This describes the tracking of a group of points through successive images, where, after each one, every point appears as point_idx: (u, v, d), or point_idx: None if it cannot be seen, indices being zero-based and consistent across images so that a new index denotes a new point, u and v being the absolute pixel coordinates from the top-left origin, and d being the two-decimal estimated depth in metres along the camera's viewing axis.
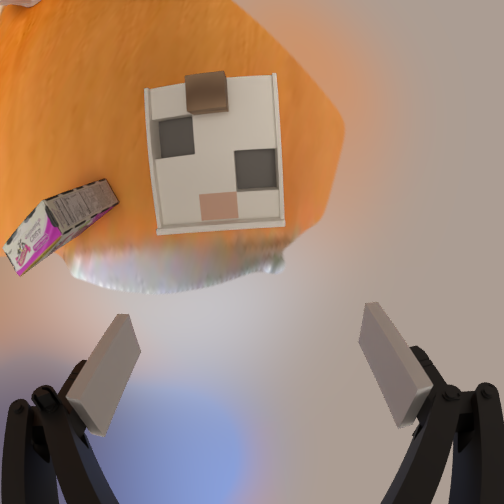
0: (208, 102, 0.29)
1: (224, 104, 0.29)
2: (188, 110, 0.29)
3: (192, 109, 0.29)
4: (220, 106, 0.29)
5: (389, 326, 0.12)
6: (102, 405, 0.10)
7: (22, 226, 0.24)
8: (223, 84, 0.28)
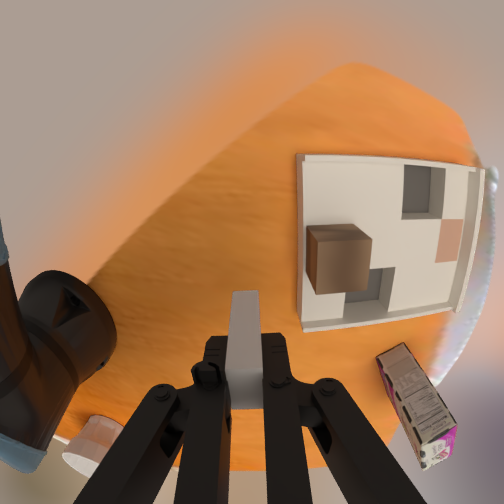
0: (362, 263, 0.22)
1: (368, 241, 0.21)
2: (365, 287, 0.23)
3: (366, 283, 0.22)
4: (370, 246, 0.21)
5: (253, 311, 0.14)
6: None
7: (425, 458, 0.21)
8: (339, 242, 0.21)
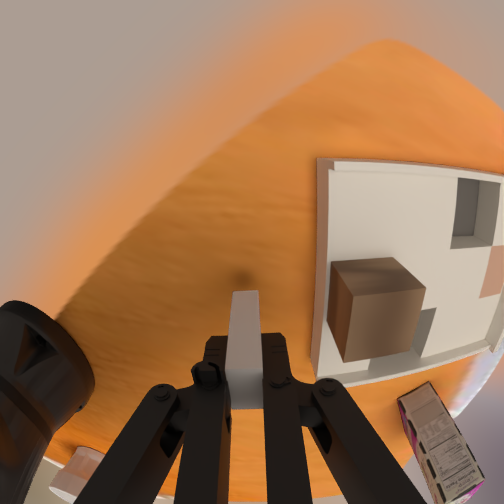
0: (409, 319, 0.14)
1: (421, 290, 0.13)
2: (407, 347, 0.15)
3: (410, 342, 0.15)
4: (422, 297, 0.14)
5: (254, 311, 0.14)
6: None
7: None
8: (383, 295, 0.13)
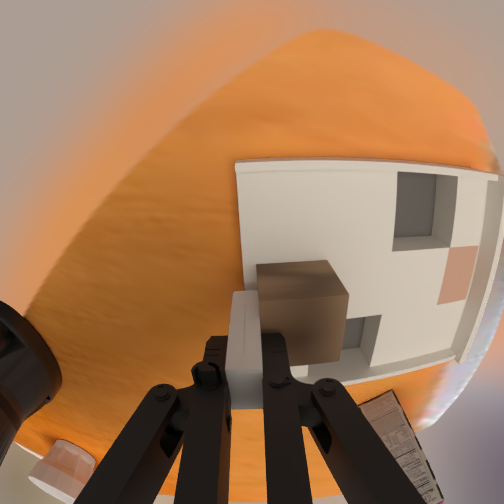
0: (333, 328, 0.14)
1: (343, 297, 0.14)
2: (338, 357, 0.15)
3: (338, 352, 0.15)
4: (345, 305, 0.14)
5: (253, 311, 0.14)
6: None
7: None
8: (294, 301, 0.14)
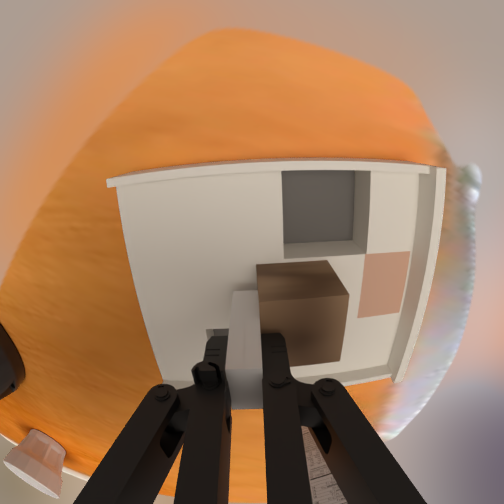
0: (333, 328, 0.14)
1: (343, 297, 0.14)
2: (338, 357, 0.15)
3: (339, 352, 0.15)
4: (346, 305, 0.14)
5: (253, 311, 0.14)
6: None
7: None
8: (295, 301, 0.14)
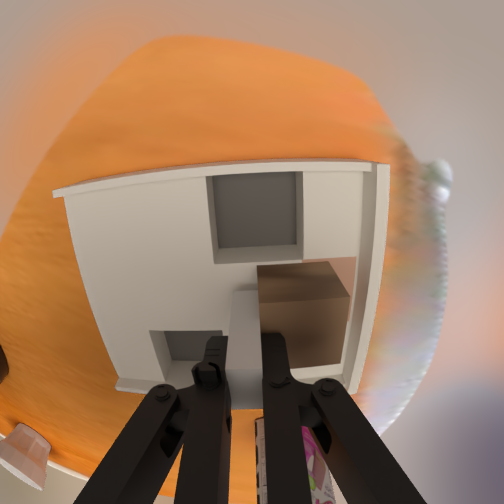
0: (333, 330, 0.14)
1: (344, 299, 0.13)
2: None
3: (339, 355, 0.15)
4: (346, 307, 0.14)
5: (253, 311, 0.14)
6: None
7: None
8: (295, 303, 0.13)
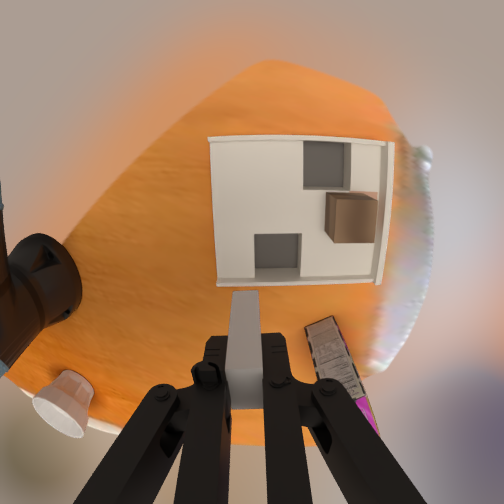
0: (370, 219, 0.27)
1: (375, 202, 0.26)
2: (373, 241, 0.28)
3: (373, 236, 0.28)
4: (376, 206, 0.27)
5: (253, 311, 0.14)
6: None
7: None
8: (353, 201, 0.26)
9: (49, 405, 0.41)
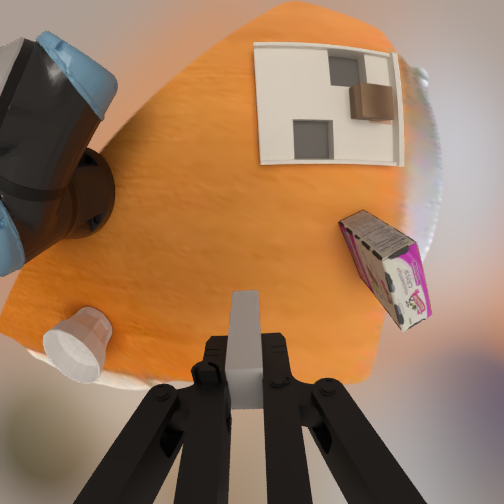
0: (388, 100, 0.29)
1: (389, 87, 0.28)
2: (393, 118, 0.30)
3: (393, 114, 0.30)
4: (391, 91, 0.28)
5: (253, 311, 0.14)
6: None
7: (396, 296, 0.29)
8: (373, 84, 0.28)
9: (61, 349, 0.43)
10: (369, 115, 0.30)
